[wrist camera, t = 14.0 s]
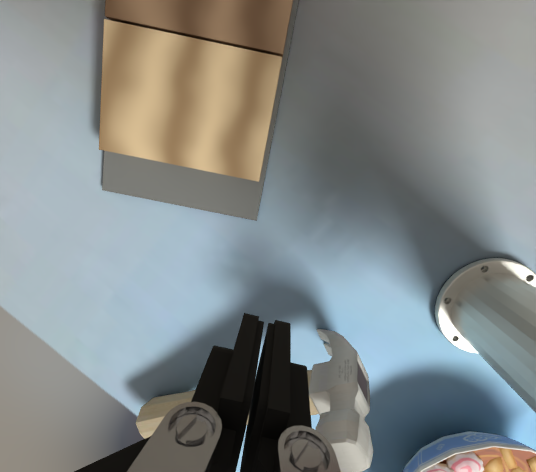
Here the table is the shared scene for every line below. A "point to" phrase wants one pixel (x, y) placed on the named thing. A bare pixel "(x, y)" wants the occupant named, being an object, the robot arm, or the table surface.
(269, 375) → the robot arm
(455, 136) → the table surface
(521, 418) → the table surface
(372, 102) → the table surface
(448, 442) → the ramen bowl
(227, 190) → the floor section
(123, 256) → the table surface
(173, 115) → the oak plank
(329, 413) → the hammer
